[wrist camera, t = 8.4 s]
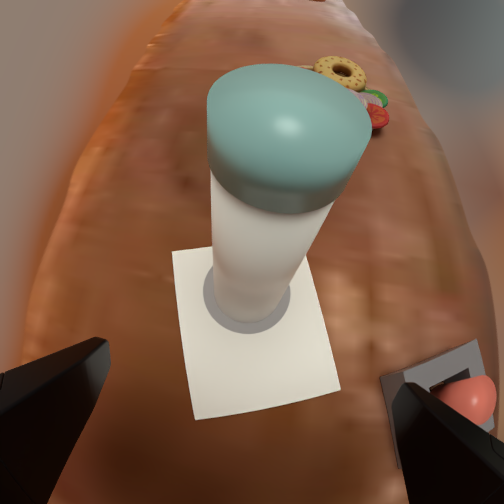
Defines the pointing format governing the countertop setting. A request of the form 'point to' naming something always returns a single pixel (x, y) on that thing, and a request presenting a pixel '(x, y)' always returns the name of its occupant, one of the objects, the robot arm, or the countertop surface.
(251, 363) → the paper
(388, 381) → the button housing
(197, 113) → the countertop surface
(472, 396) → the button
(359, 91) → the toy food set
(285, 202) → the teal and white bottle
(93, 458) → the countertop surface
